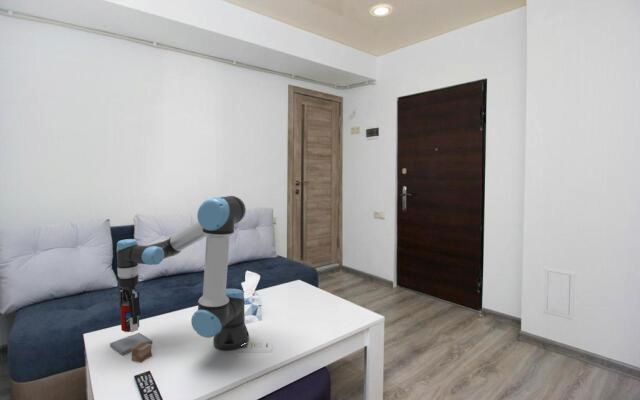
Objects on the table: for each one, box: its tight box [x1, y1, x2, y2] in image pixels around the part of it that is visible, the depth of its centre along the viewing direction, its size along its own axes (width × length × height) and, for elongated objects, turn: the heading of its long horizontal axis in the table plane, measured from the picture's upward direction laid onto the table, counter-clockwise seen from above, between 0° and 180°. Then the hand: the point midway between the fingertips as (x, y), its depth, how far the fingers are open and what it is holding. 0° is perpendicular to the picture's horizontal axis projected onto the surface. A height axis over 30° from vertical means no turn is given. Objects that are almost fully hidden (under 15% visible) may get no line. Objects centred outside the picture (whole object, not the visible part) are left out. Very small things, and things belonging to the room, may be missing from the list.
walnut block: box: [130, 342, 153, 363], centre depth 133 cm, size 5×5×5 cm
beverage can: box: [119, 301, 140, 333], centre depth 142 cm, size 7×7×12 cm
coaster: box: [109, 332, 153, 356], centre depth 143 cm, size 12×12×2 cm
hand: (130, 328), depth 143 cm, fingers closed on beverage can, 7 cm apart
